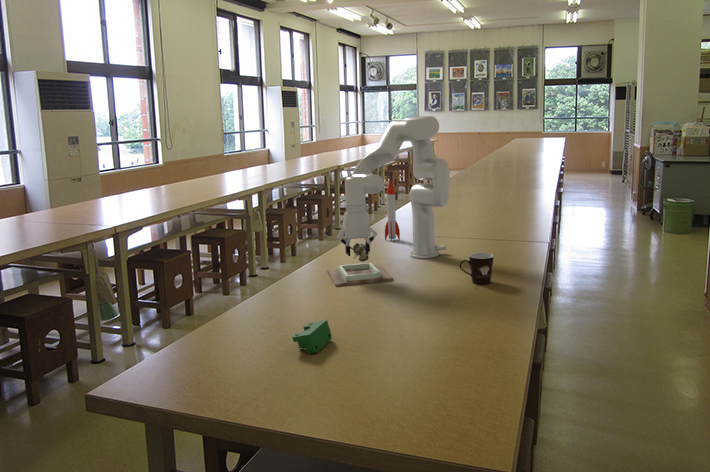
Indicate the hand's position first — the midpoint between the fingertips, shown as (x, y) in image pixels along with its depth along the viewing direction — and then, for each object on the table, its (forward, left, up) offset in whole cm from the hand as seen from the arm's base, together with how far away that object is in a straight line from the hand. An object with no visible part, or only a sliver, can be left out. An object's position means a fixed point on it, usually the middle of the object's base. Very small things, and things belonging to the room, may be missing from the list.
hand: (357, 254), depth 216 cm
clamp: (+26, +62, -9) cm, 68 cm away
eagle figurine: (0, +2, -1) cm, 3 cm away
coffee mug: (-39, +23, -9) cm, 46 cm away
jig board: (0, 0, -9) cm, 9 cm away
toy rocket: (-29, -57, -9) cm, 65 cm away
